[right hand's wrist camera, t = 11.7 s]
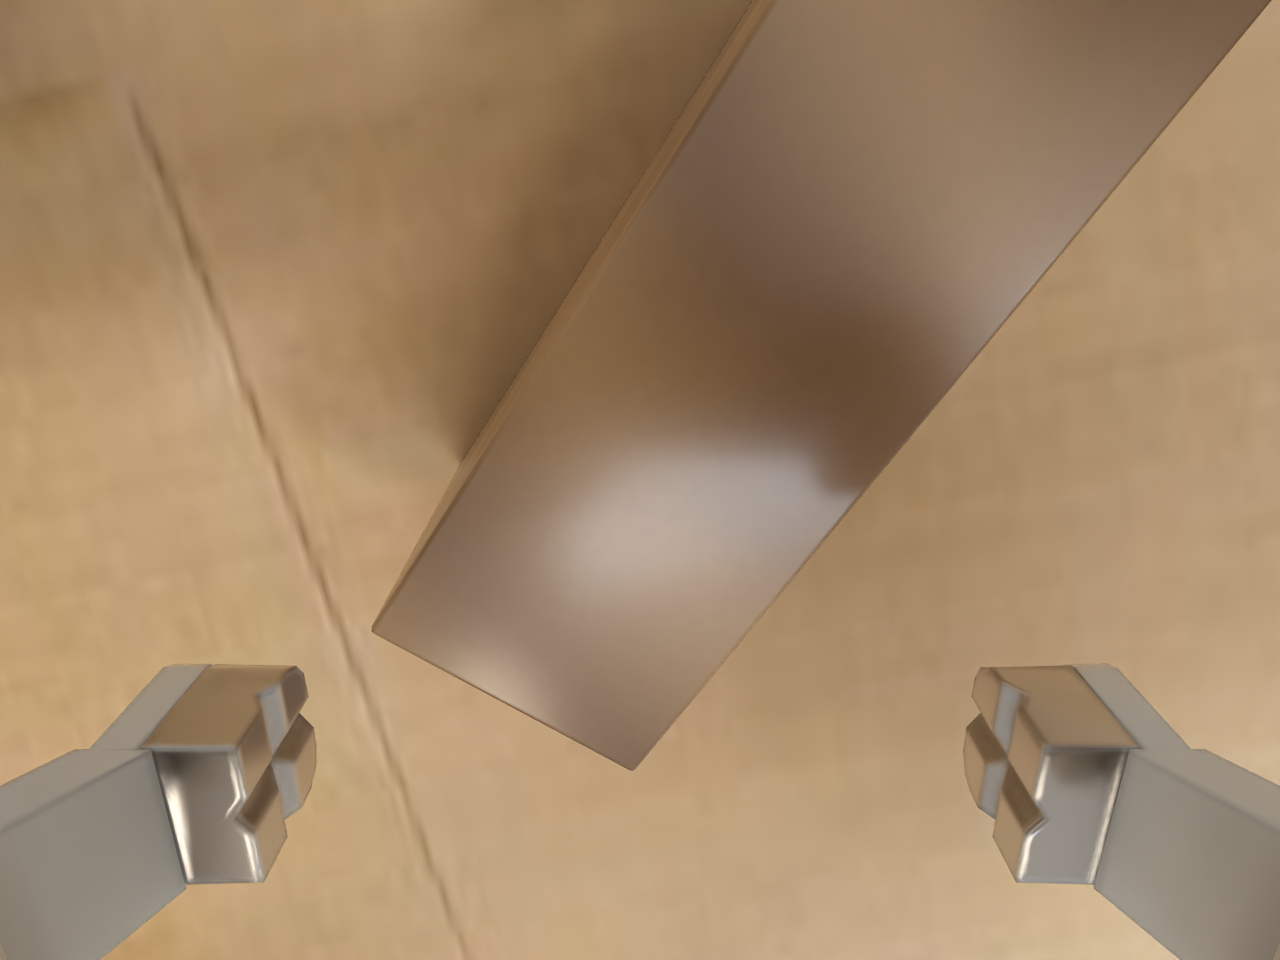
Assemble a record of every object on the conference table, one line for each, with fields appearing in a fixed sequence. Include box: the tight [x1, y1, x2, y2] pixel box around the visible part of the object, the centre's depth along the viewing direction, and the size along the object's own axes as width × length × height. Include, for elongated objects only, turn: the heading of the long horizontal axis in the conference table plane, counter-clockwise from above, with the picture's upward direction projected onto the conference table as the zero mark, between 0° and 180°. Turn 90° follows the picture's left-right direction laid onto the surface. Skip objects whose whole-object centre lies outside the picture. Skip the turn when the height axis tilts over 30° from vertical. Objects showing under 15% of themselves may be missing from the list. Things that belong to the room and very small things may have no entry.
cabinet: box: [372, 0, 1271, 771], centre depth 16 cm, size 19×6×8 cm, turn 146°
